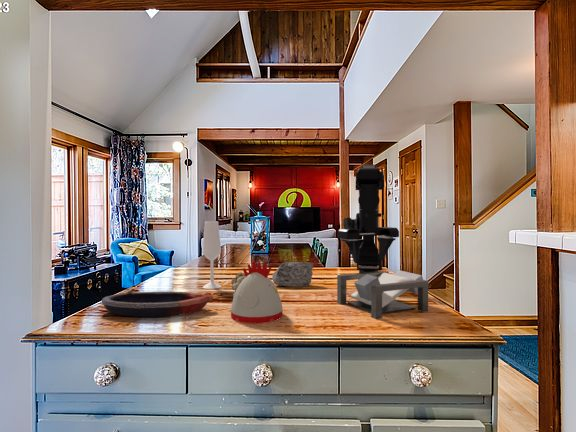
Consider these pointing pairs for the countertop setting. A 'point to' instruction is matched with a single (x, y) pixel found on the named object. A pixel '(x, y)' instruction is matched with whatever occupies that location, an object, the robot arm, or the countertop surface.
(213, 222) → the champagne flute
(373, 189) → the robot arm
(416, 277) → the trapdoor
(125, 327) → the countertop surface
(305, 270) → the rock
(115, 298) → the dish
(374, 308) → the frame
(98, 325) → the countertop surface
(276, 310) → the kitchen timer
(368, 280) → the grey matte cube
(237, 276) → the mineral formation
